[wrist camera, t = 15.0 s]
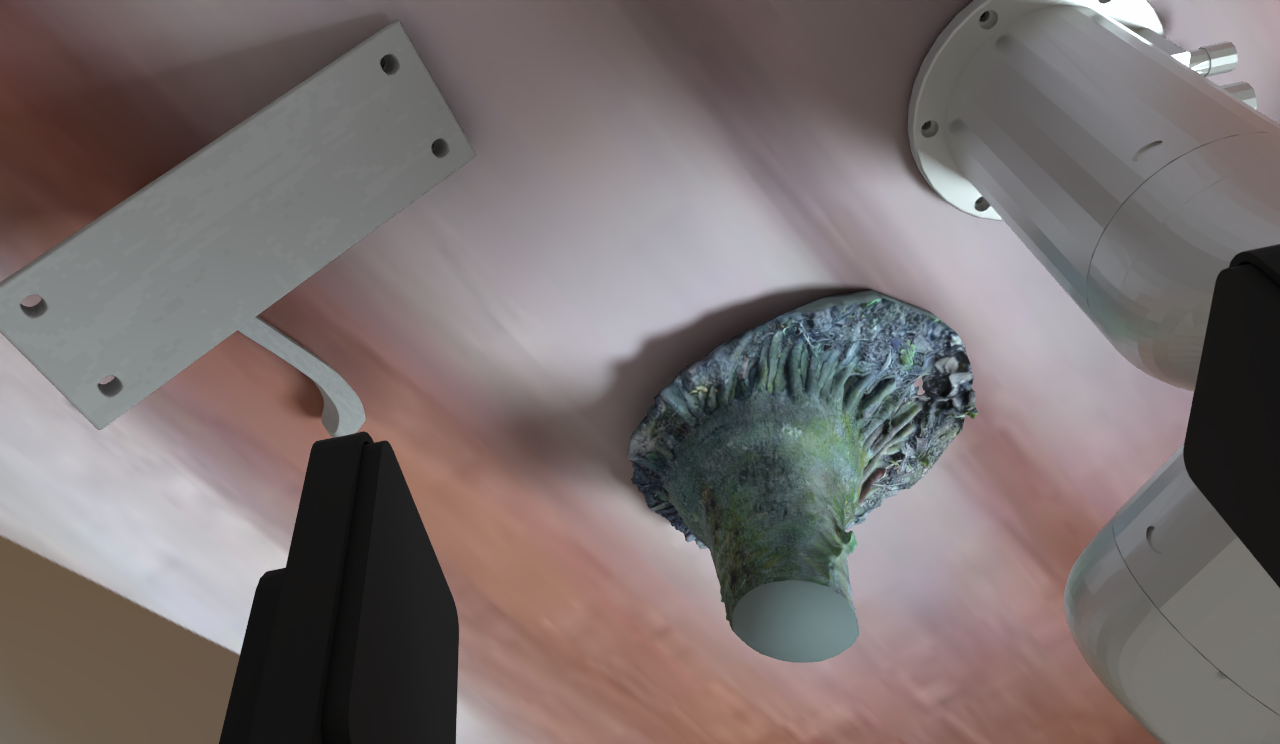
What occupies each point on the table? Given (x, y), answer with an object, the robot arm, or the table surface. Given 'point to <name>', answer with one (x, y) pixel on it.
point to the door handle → (237, 235)
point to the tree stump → (801, 455)
